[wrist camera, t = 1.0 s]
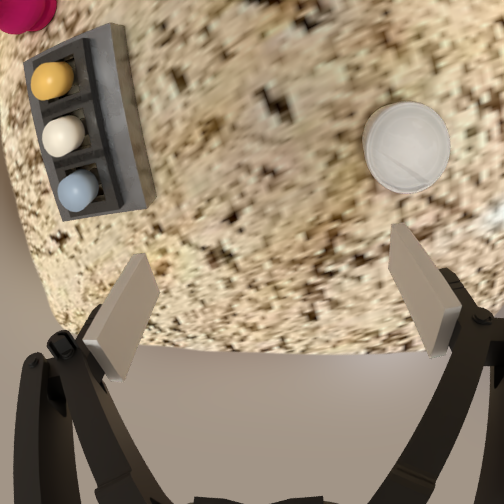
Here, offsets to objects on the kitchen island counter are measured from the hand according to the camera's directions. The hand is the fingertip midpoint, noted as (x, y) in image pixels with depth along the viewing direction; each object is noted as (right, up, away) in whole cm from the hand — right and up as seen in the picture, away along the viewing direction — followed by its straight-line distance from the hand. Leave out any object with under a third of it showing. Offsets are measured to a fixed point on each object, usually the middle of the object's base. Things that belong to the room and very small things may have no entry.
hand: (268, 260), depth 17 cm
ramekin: (+17, +15, +20) cm, 30 cm away
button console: (-22, +18, +20) cm, 35 cm away
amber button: (-23, +22, +15) cm, 35 cm away
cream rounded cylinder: (-22, +16, +18) cm, 33 cm away
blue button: (-21, +10, +22) cm, 32 cm away
